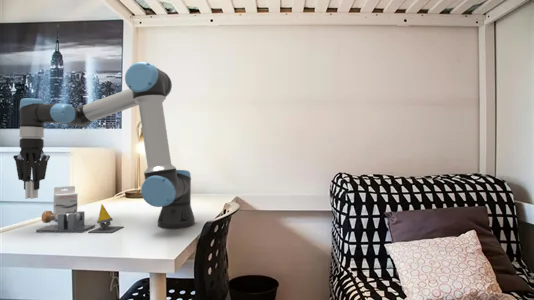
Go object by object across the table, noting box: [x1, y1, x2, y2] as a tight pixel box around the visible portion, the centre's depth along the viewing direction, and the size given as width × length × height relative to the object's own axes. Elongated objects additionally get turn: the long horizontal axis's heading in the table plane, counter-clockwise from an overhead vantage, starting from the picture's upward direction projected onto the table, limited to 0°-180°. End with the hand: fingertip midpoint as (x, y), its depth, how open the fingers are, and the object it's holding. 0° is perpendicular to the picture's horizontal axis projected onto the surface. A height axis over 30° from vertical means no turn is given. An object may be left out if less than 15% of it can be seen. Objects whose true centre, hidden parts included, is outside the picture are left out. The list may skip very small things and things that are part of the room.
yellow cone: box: [96, 203, 113, 229], centre depth 120 cm, size 5×5×10 cm
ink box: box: [53, 185, 78, 223], centre depth 138 cm, size 8×5×15 cm, turn 134°
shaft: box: [41, 210, 81, 224], centre depth 120 cm, size 13×5×5 cm, turn 88°
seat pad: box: [88, 225, 124, 234], centre depth 119 cm, size 9×9×1 cm
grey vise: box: [35, 210, 96, 234], centre depth 120 cm, size 18×8×7 cm, turn 88°
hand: (31, 197), depth 120 cm, fingers closed
